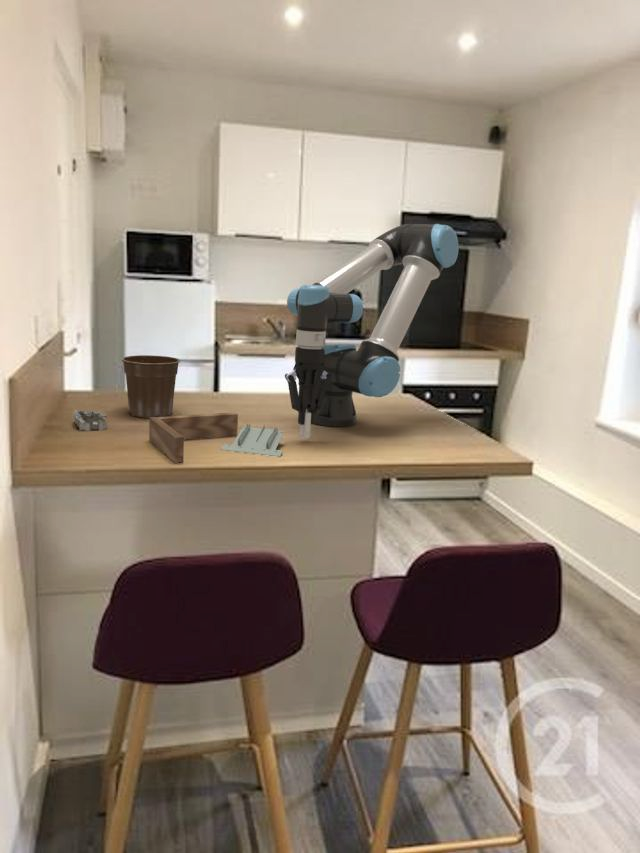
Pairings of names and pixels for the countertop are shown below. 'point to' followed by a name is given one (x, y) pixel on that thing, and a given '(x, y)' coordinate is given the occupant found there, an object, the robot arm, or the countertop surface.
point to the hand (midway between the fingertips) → (304, 436)
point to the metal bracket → (256, 441)
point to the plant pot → (150, 384)
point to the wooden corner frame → (189, 431)
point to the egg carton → (90, 420)
